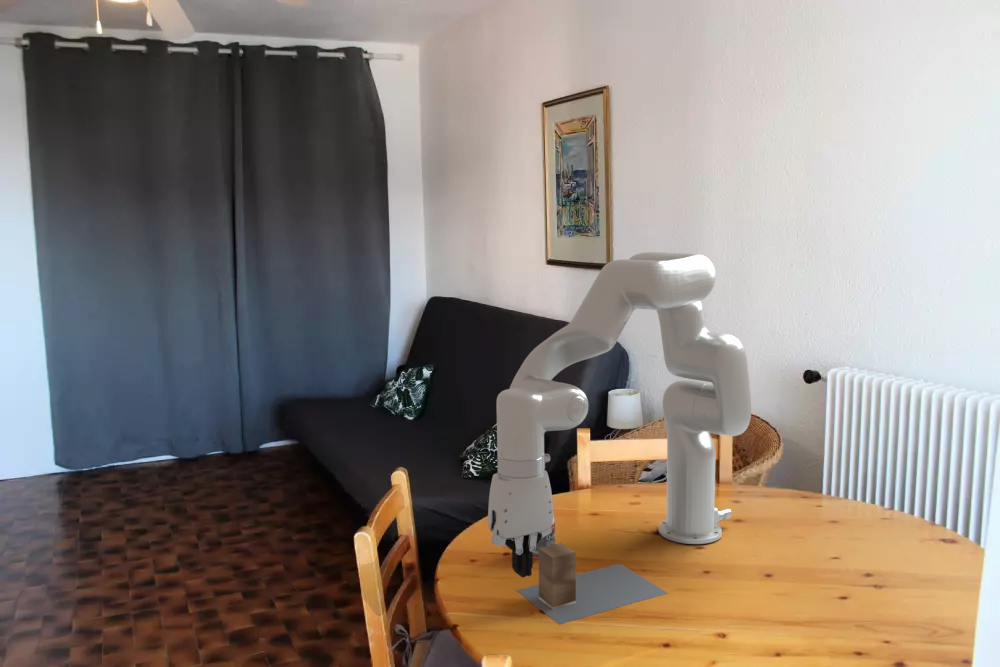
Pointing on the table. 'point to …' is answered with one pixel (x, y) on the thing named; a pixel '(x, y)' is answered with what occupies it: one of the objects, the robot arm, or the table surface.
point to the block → (557, 575)
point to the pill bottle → (545, 541)
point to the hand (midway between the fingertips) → (522, 573)
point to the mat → (598, 593)
